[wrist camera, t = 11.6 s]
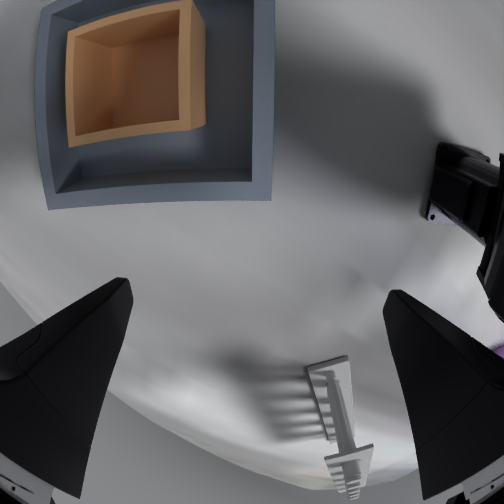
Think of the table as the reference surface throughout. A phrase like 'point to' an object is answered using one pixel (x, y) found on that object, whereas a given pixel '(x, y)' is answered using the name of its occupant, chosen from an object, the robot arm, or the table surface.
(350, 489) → the test tube rack
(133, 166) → the large crate
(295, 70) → the table surface
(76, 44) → the small crate
